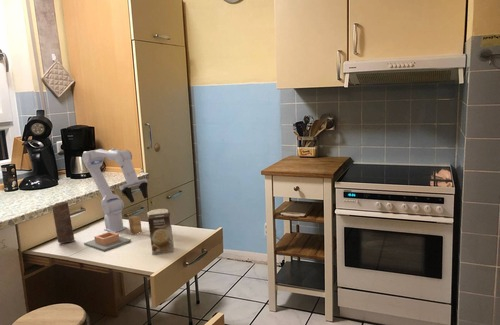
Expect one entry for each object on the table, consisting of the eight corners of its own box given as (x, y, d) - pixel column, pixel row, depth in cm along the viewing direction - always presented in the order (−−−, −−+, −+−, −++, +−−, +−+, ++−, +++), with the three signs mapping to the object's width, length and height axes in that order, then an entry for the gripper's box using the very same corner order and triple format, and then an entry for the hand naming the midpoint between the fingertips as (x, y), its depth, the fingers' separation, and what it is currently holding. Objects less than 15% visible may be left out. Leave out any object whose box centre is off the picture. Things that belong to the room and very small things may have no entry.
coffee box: (151, 255, 174) (146, 218, 172) (153, 250, 180) (148, 214, 178) (173, 252, 175) (169, 216, 173) (174, 247, 181) (170, 212, 179)
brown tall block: (68, 245, 198) (61, 204, 195) (54, 245, 199) (47, 205, 196) (77, 239, 205) (71, 200, 202) (64, 239, 207) (58, 201, 204)
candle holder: (173, 231, 204) (170, 208, 202) (167, 238, 194) (164, 213, 193) (154, 232, 205) (151, 209, 203) (147, 239, 195) (144, 215, 194)
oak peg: (130, 233, 208) (128, 217, 207) (137, 230, 211) (135, 215, 210) (135, 234, 205) (133, 218, 204) (141, 231, 208) (139, 216, 207)
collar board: (84, 245, 196) (83, 236, 195) (110, 235, 206) (109, 228, 206) (104, 251, 184) (103, 243, 183) (131, 241, 194) (130, 233, 194)
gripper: (120, 175, 193) (130, 202, 192) (146, 168, 204) (155, 194, 203) (113, 179, 198) (123, 205, 197) (139, 172, 209) (148, 197, 208)
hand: (139, 200), depth 200 cm, fingers open, 7 cm apart
